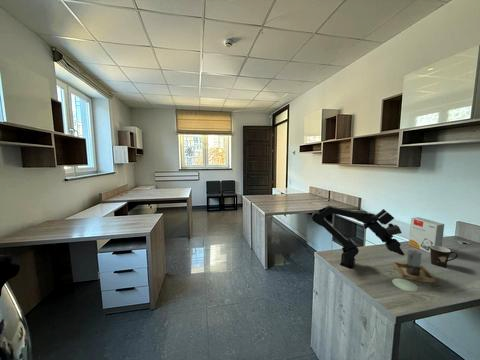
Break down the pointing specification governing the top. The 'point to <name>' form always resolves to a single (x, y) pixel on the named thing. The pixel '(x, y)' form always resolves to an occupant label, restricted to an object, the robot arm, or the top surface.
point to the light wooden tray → (424, 275)
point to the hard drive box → (425, 233)
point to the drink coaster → (404, 285)
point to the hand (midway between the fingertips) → (400, 251)
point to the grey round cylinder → (413, 263)
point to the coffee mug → (440, 255)
